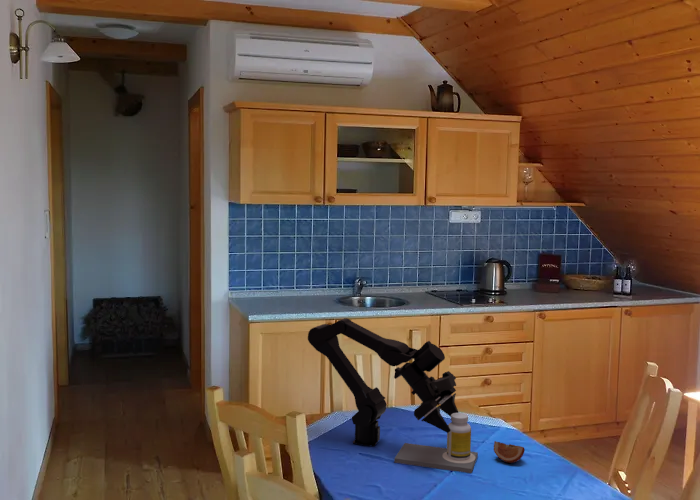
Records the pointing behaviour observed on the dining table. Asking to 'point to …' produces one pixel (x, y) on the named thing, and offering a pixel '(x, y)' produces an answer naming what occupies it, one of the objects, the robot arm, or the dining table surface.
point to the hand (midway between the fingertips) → (455, 426)
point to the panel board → (433, 458)
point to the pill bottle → (459, 437)
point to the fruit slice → (508, 452)
